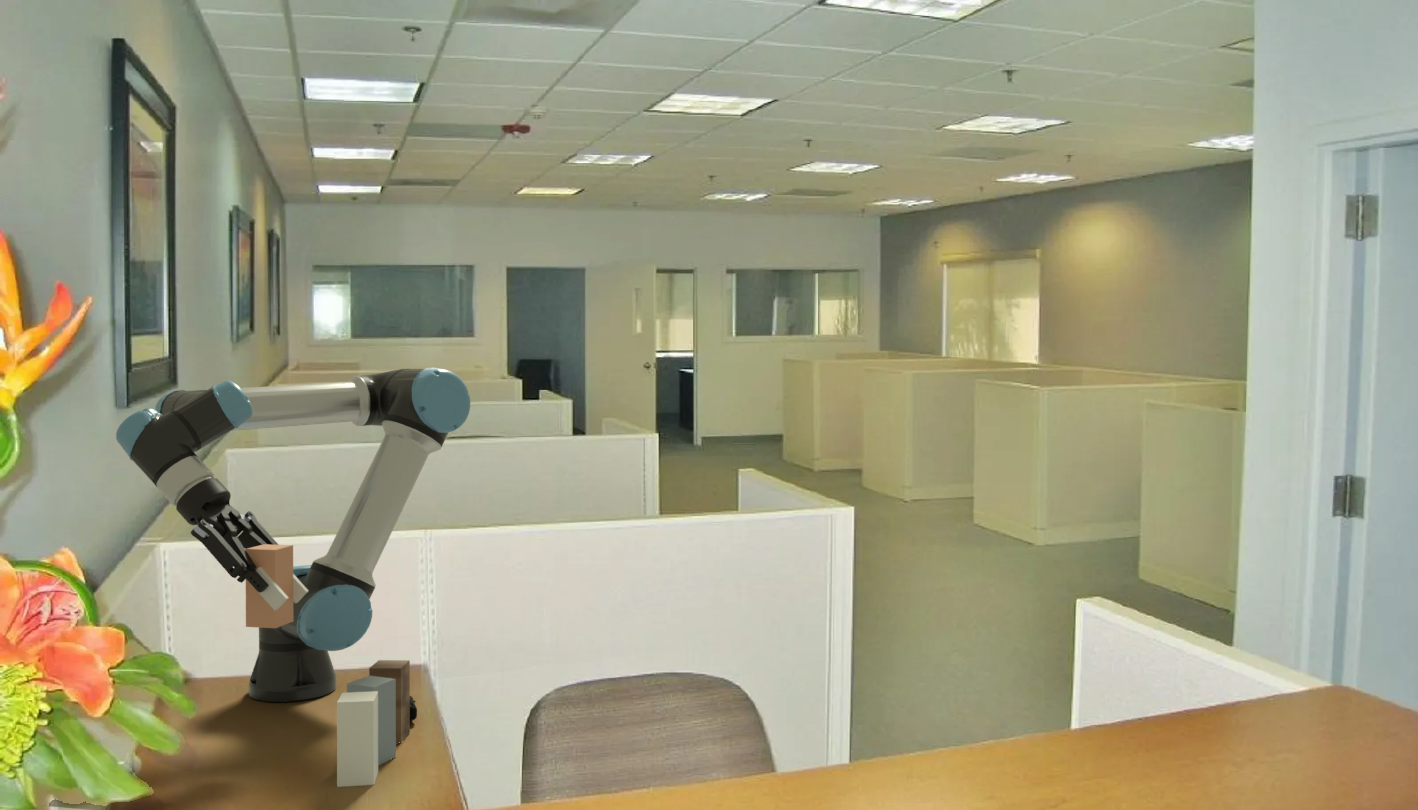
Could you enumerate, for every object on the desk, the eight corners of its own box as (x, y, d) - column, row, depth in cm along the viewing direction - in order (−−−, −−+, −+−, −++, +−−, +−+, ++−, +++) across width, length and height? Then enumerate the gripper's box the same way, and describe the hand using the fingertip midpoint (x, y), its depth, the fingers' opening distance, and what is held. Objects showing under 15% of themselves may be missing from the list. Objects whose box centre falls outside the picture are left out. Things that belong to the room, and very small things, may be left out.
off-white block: (342, 774, 163) (342, 692, 163) (378, 772, 164) (378, 691, 164) (337, 786, 158) (336, 702, 158) (373, 784, 159) (373, 700, 159)
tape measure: (417, 726, 187) (417, 703, 187) (374, 729, 184) (374, 707, 184) (415, 714, 193) (415, 692, 193) (373, 717, 191) (373, 696, 191)
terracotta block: (264, 619, 177) (264, 544, 177) (293, 621, 176) (293, 545, 176) (245, 626, 172) (245, 548, 172) (275, 628, 171) (275, 550, 171)
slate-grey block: (369, 753, 173) (369, 675, 172) (395, 757, 171) (395, 678, 170) (347, 763, 168) (346, 683, 168) (374, 767, 166) (373, 687, 166)
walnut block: (379, 733, 182) (378, 660, 182) (409, 733, 182) (409, 660, 182) (369, 743, 177) (369, 668, 177) (401, 743, 177) (400, 668, 177)
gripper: (215, 502, 185) (307, 605, 183) (141, 515, 168) (242, 629, 165) (244, 471, 184) (337, 574, 182) (173, 480, 167) (274, 595, 164)
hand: (291, 600), depth 173 cm, fingers closed on terracotta block, 5 cm apart
